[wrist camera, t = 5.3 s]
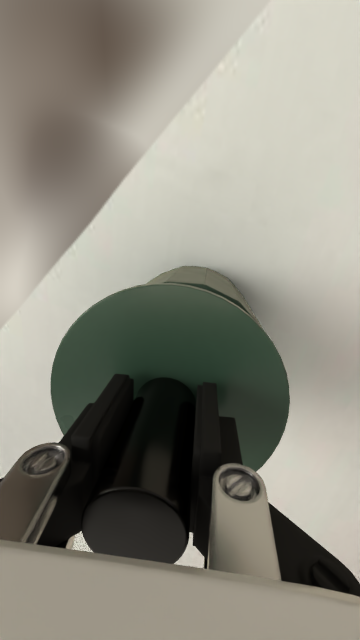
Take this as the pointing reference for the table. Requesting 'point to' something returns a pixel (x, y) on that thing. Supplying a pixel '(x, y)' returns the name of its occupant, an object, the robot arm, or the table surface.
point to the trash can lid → (165, 405)
